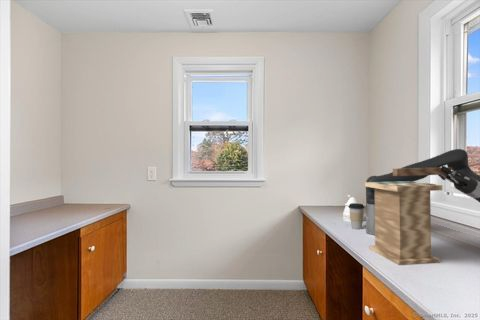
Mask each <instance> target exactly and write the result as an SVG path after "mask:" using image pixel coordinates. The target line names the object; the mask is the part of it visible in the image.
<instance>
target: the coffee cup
mask: <svg viewBox="0 0 480 320" xmlns="http://www.w3.org/2000/svg"><path fill="white" fill-rule="evenodd" d="M349 209H350V220H351V223H350V224H351V228H352V229H353V230H362V229H363V222H364V209H365V205H364V204H362V203H359V202H358V203H351V204H350V205H349ZM362 221H363V222H362Z"/></svg>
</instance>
